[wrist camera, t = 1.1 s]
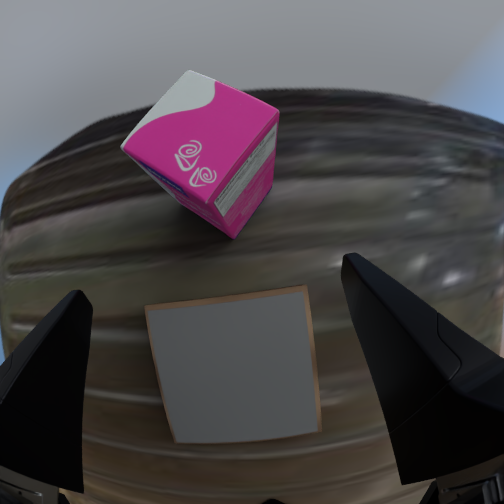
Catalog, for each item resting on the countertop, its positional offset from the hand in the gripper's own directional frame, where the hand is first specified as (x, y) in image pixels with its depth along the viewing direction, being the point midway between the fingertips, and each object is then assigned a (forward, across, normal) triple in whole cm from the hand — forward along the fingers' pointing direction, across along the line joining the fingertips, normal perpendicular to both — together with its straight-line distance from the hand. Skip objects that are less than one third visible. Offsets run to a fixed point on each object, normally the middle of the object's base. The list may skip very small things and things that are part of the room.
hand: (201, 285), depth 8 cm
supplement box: (+15, 0, +4) cm, 15 cm away
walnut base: (+5, +1, +14) cm, 15 cm away
